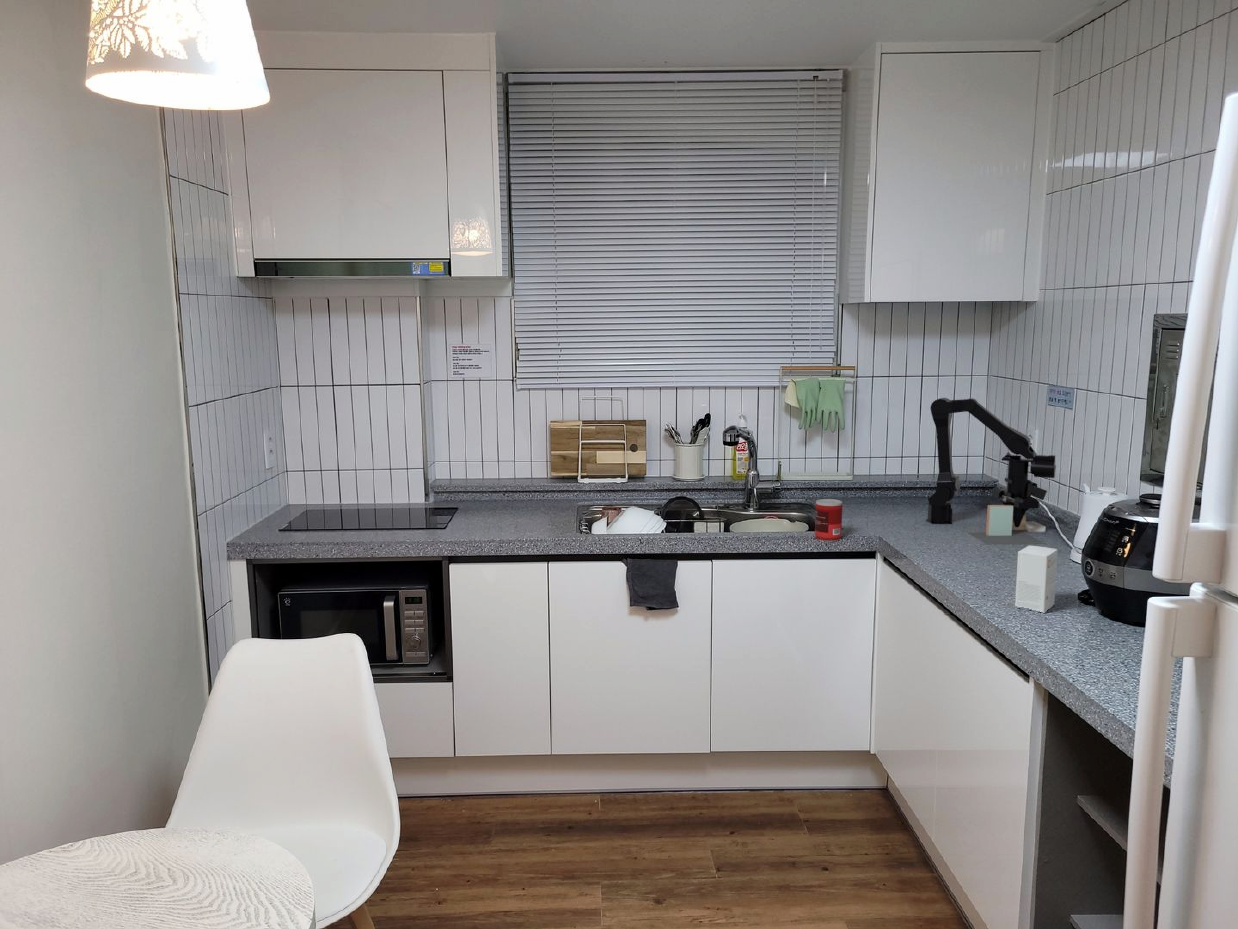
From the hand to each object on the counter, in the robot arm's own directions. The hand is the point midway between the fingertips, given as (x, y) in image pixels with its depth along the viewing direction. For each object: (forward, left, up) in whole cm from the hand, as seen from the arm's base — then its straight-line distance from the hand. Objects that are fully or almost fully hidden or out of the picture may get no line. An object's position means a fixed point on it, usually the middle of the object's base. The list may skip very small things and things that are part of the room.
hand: (1014, 526), depth 280 cm
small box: (-29, -78, -2) cm, 83 cm away
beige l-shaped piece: (0, 0, -1) cm, 1 cm away
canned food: (-59, -9, -1) cm, 60 cm away
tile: (-8, -9, -1) cm, 12 cm away
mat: (-8, -13, -1) cm, 15 cm away
